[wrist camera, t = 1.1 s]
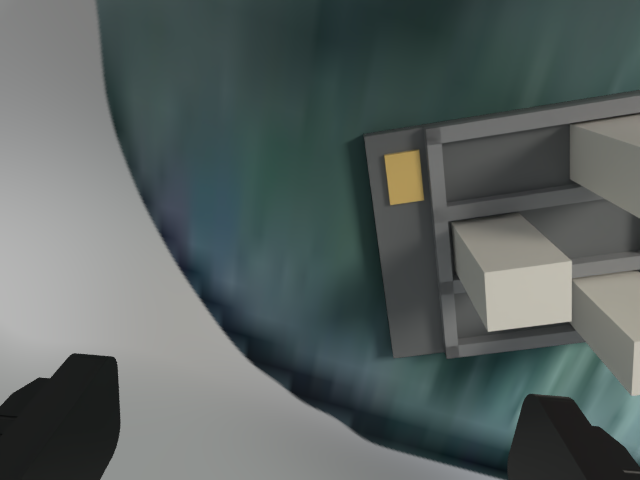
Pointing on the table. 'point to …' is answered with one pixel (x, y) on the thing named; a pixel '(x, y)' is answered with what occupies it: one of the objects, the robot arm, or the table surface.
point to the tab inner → (608, 159)
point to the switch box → (484, 201)
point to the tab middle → (512, 272)
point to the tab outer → (611, 322)
